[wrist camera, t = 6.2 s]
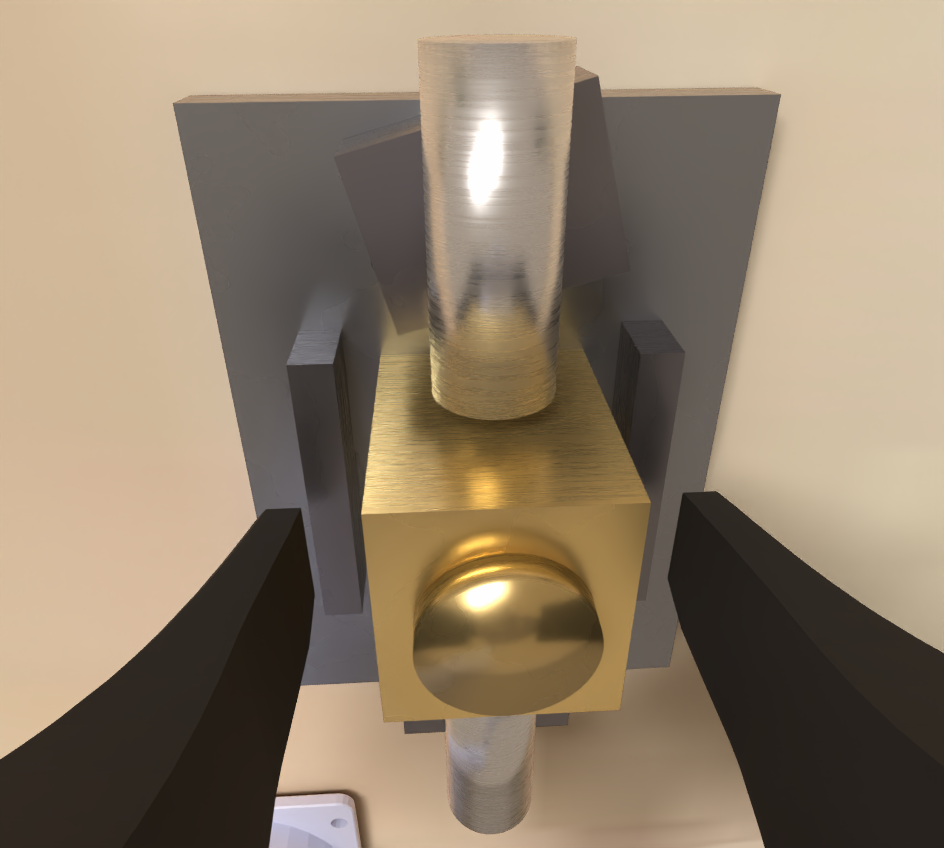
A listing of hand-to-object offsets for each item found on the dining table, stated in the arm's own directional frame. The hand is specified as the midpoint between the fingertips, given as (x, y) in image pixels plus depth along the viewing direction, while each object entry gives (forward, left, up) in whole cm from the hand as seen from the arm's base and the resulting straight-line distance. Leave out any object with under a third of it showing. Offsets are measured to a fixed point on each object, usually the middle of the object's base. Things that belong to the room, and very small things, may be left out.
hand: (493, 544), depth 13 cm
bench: (0, 0, -4) cm, 4 cm away
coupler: (0, 0, -3) cm, 3 cm away
